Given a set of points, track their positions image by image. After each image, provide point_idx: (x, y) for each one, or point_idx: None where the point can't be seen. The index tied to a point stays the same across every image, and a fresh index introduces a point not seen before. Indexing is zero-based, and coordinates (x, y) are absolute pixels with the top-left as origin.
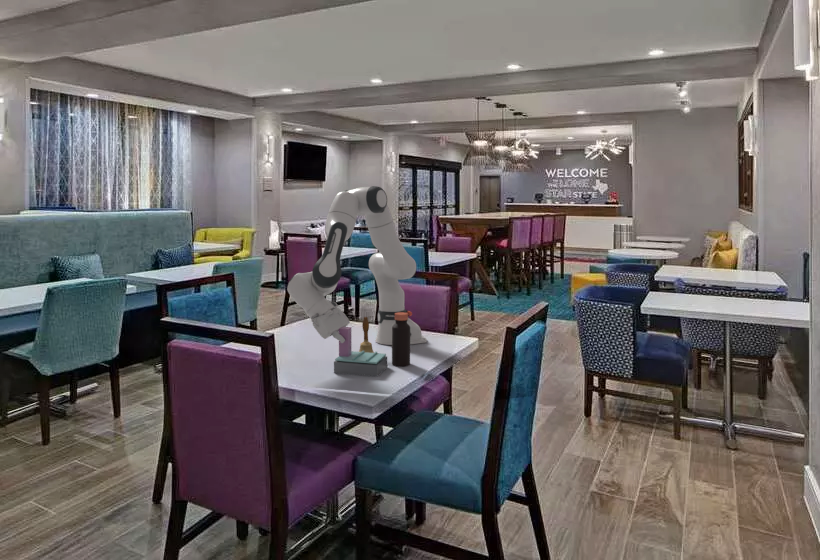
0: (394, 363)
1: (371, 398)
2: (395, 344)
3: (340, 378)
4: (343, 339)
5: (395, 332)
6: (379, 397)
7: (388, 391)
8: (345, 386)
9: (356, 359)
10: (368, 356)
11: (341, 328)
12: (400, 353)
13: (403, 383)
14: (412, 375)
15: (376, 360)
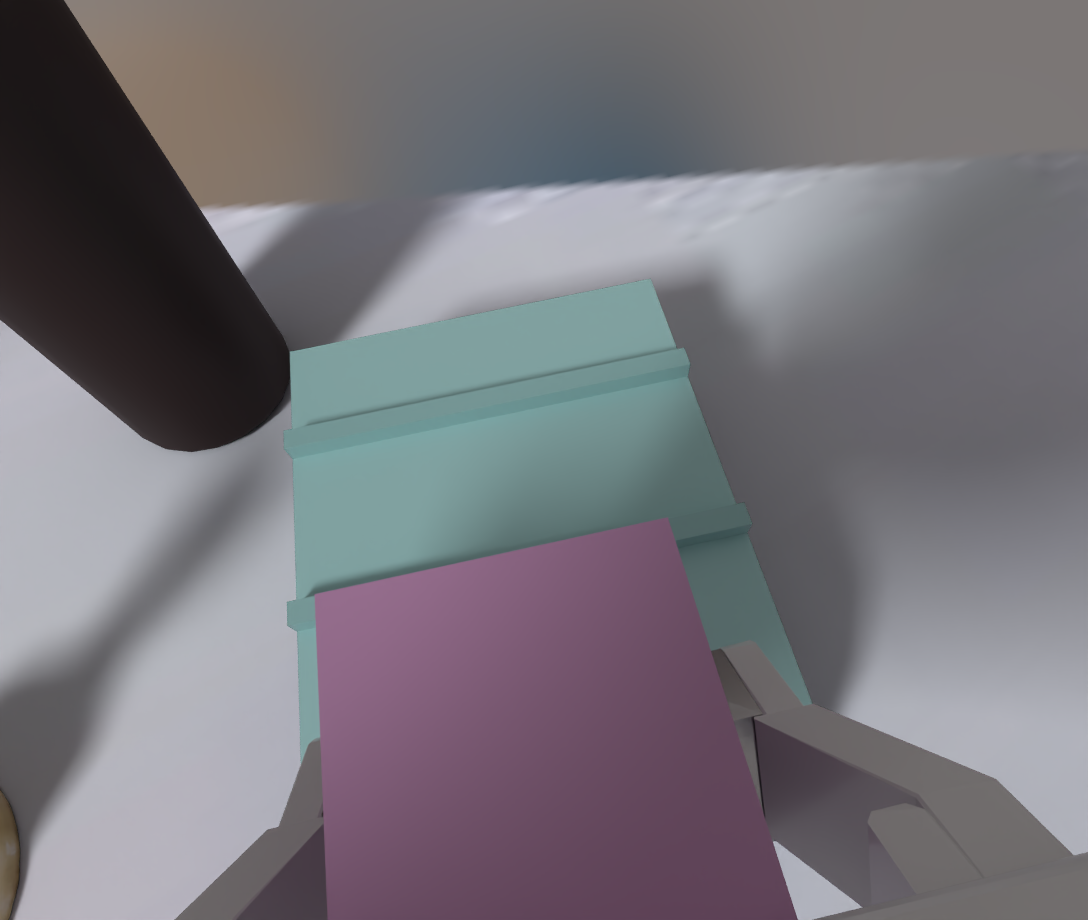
0: (268, 378)
1: (1046, 207)
2: (165, 221)
3: (840, 670)
4: (766, 671)
5: (50, 70)
6: (988, 182)
7: (845, 193)
8: (996, 485)
9: (678, 506)
10: (479, 453)
11: (696, 837)
12: (226, 254)
13: (633, 195)
14: (431, 223)
15: (589, 307)
